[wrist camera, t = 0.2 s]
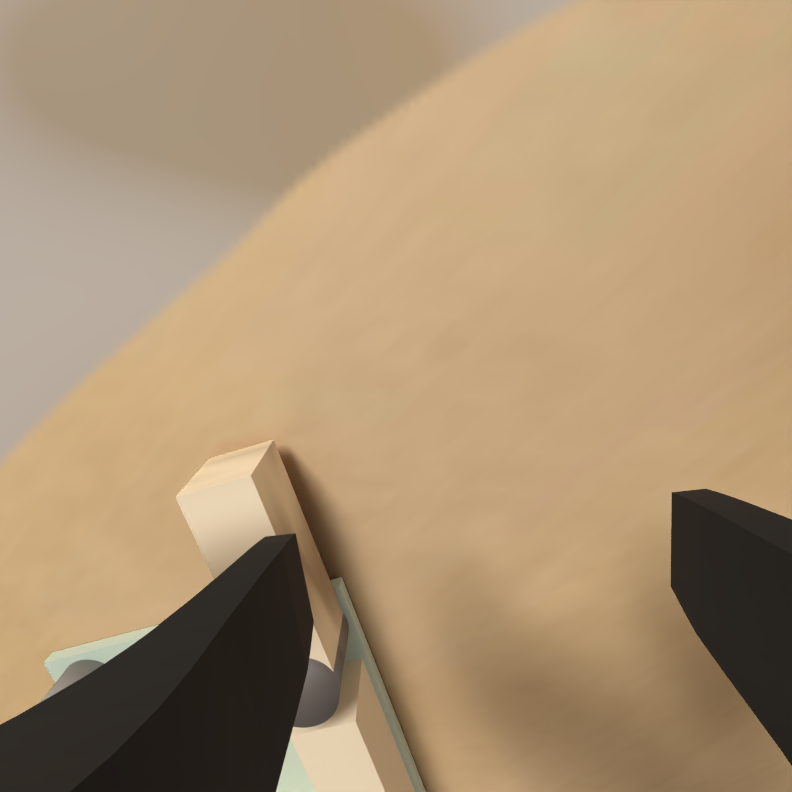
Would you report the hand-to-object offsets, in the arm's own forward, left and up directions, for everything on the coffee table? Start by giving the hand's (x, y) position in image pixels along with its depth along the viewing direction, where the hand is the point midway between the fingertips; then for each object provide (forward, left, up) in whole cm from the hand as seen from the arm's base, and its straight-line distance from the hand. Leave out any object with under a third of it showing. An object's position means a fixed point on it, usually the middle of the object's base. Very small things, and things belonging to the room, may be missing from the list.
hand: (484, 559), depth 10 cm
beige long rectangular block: (-4, +8, -9) cm, 12 cm away
